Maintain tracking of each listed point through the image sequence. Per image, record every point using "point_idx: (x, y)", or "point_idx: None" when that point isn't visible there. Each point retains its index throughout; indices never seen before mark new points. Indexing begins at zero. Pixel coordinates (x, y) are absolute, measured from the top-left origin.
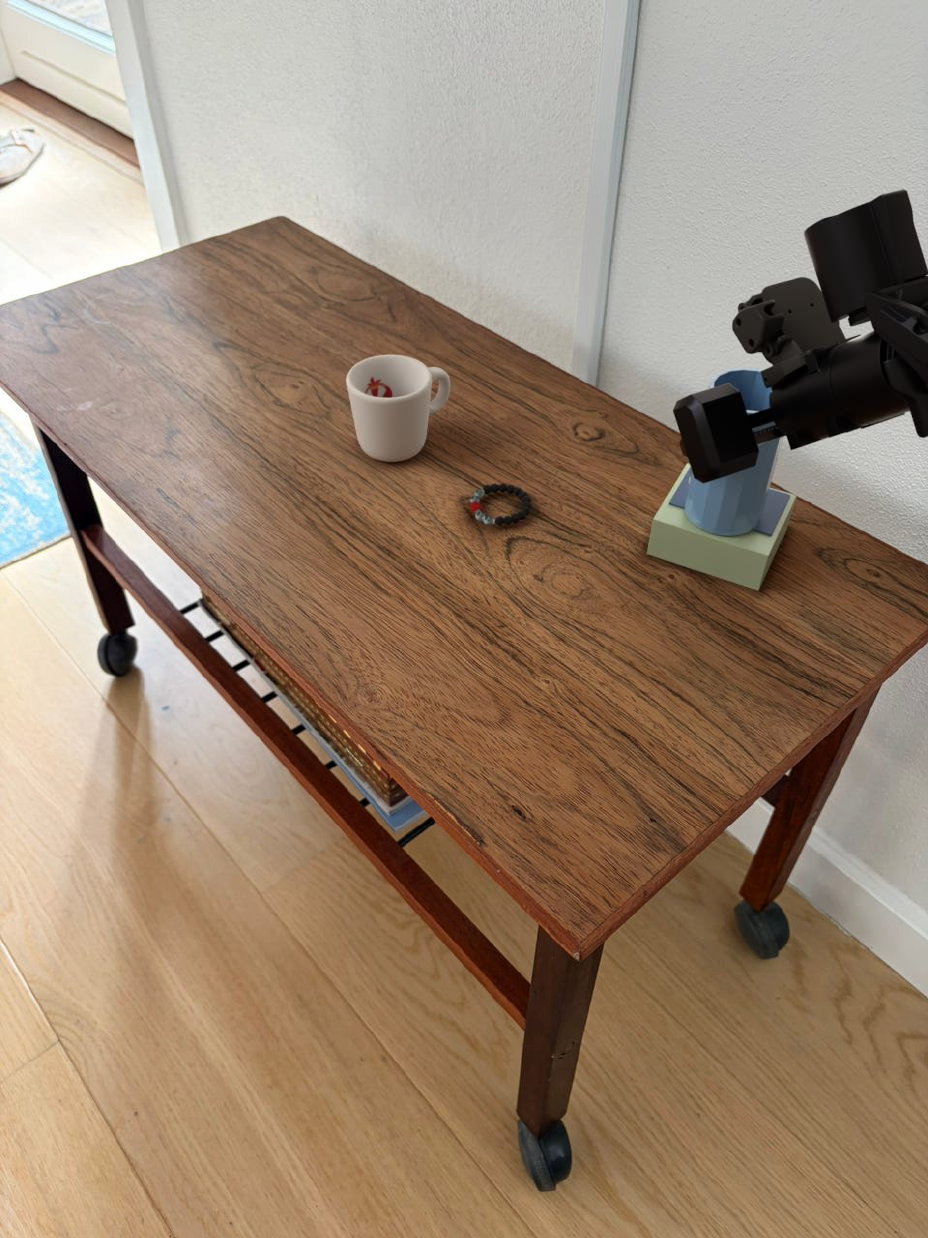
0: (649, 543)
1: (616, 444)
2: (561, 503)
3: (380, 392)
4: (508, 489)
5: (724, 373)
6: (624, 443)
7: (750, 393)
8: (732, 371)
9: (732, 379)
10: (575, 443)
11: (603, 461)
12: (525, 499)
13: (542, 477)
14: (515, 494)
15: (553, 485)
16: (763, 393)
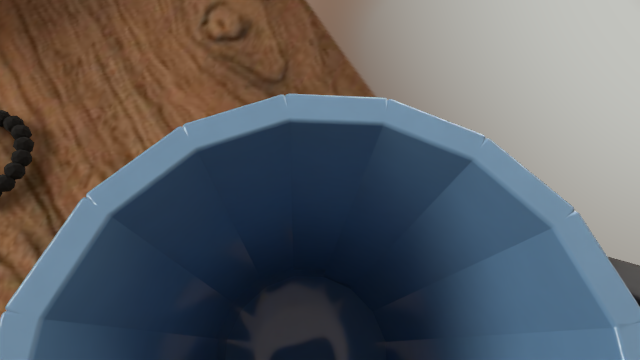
0: None
1: (256, 57)
2: (94, 169)
3: None
4: (5, 125)
5: (243, 131)
6: (269, 58)
7: (414, 209)
8: (306, 123)
9: (317, 150)
10: (193, 41)
11: (216, 89)
12: (13, 159)
13: (98, 102)
14: (14, 138)
15: (105, 124)
16: (472, 247)
